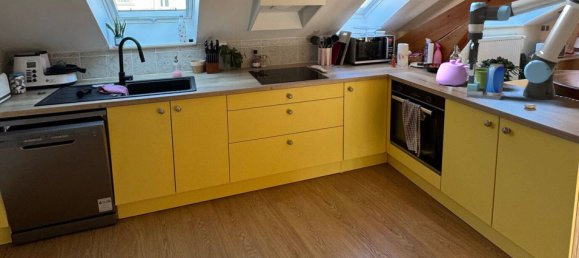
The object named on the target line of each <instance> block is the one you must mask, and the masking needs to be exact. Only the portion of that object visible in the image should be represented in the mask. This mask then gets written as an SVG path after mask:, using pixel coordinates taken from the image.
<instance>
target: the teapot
mask: <svg viewBox="0 0 579 258" xmlns="http://www.w3.org/2000/svg"><path fill="white" fill-rule="evenodd" d="M460 61H461V59H460V58H458V59H456V60H455V59H451V60H449V62H448V61H447V62H443V63H441V64H440V66H439V68H438V70H437V73H436V78H435V80H436V82H437V84H440V85H441V86H445V85H447V86H449V85H450V86H453V87H457V86H461V85H464V84H465V83H466V81H468V80H467V79H468V77H469V75H468V73H469V65H465V64H464V63H462V62H460ZM467 69H468V71H467Z"/></svg>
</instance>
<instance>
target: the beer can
mask: <svg viewBox="0 0 579 258" xmlns="http://www.w3.org/2000/svg"><path fill="white" fill-rule="evenodd" d="M487 68H488V72H487V82H486V93H487V94H489V95H500V94H501V93H503V91H504V89H503V88H504V81H505V74H506V73H505V72H506V71H505V70H506V69H505V67H504V64H501V63H491V64H489V67H487Z"/></svg>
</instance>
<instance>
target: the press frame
mask: <svg viewBox="0 0 579 258" xmlns="http://www.w3.org/2000/svg"><path fill="white" fill-rule="evenodd" d="M503 95H505V94H504V92H502V93H501V94H500V95H489V94H487V93H486V88H479V91H470V90H468V91H467V90H466V97H467V98H474V99H475V98H476V99H477V98H478V99H484V100H485V99H488V100H495V101H501V100H502V98H503V97H504V96H503Z"/></svg>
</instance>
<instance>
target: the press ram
mask: <svg viewBox="0 0 579 258" xmlns="http://www.w3.org/2000/svg"><path fill="white" fill-rule="evenodd" d="M474 64H475V66H476V67H477V63H476V58H475V62H474ZM475 77H476V75H475V67H474V76H470V75H468V77H467V79H468V80H467V85H466V92H467V91H468V90H470V91H479V88H480V82H476V81H475Z"/></svg>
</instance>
